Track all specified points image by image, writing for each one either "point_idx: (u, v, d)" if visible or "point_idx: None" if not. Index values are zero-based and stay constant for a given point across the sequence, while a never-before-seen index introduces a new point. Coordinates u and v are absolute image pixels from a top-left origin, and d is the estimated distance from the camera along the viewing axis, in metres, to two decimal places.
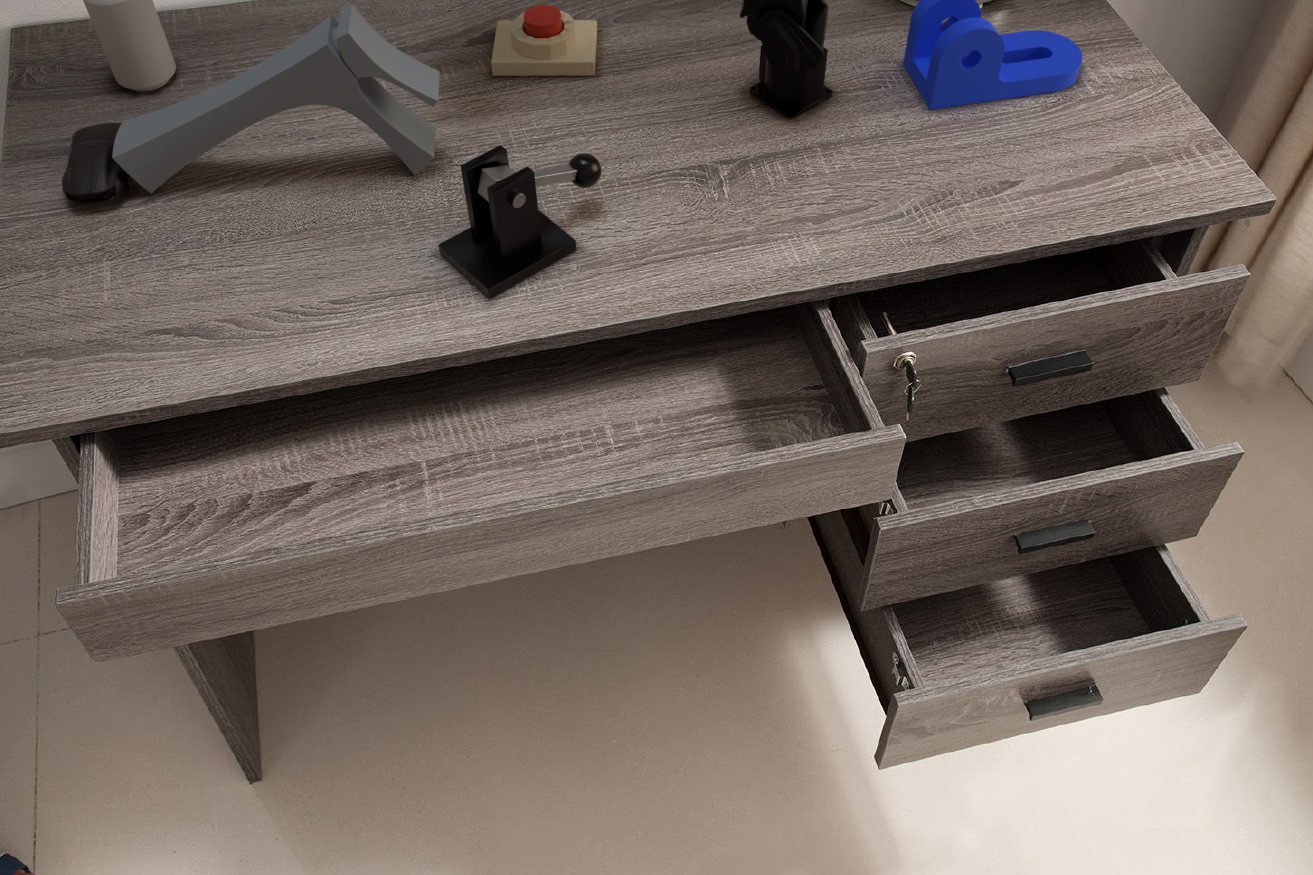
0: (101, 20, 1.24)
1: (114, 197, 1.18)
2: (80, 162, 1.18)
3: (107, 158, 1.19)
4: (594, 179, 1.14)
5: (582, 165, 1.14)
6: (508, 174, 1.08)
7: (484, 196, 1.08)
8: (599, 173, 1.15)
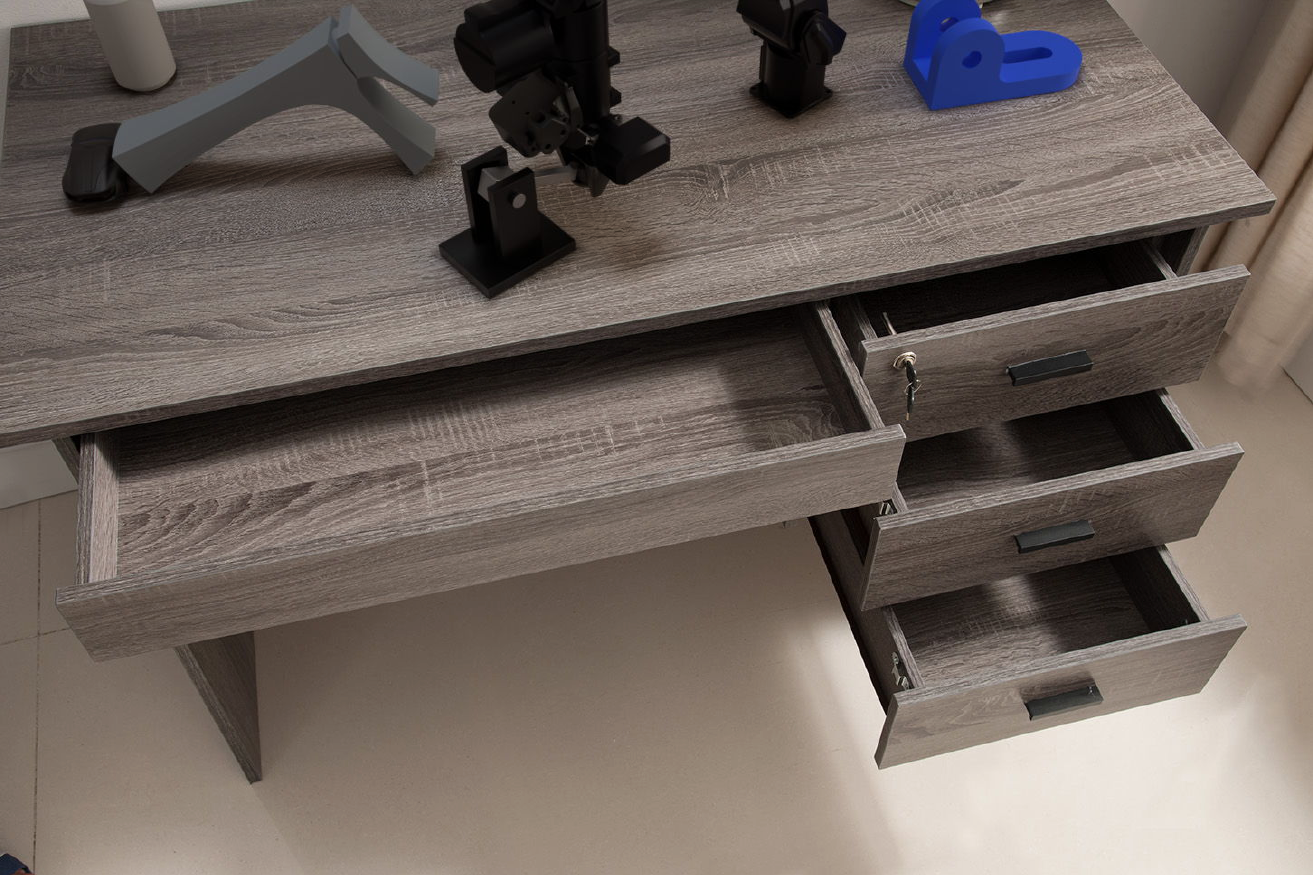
0: (101, 20, 1.24)
1: (114, 197, 1.18)
2: (80, 162, 1.18)
3: (107, 158, 1.19)
4: None
5: (582, 165, 1.14)
6: (508, 174, 1.08)
7: (484, 196, 1.08)
8: None
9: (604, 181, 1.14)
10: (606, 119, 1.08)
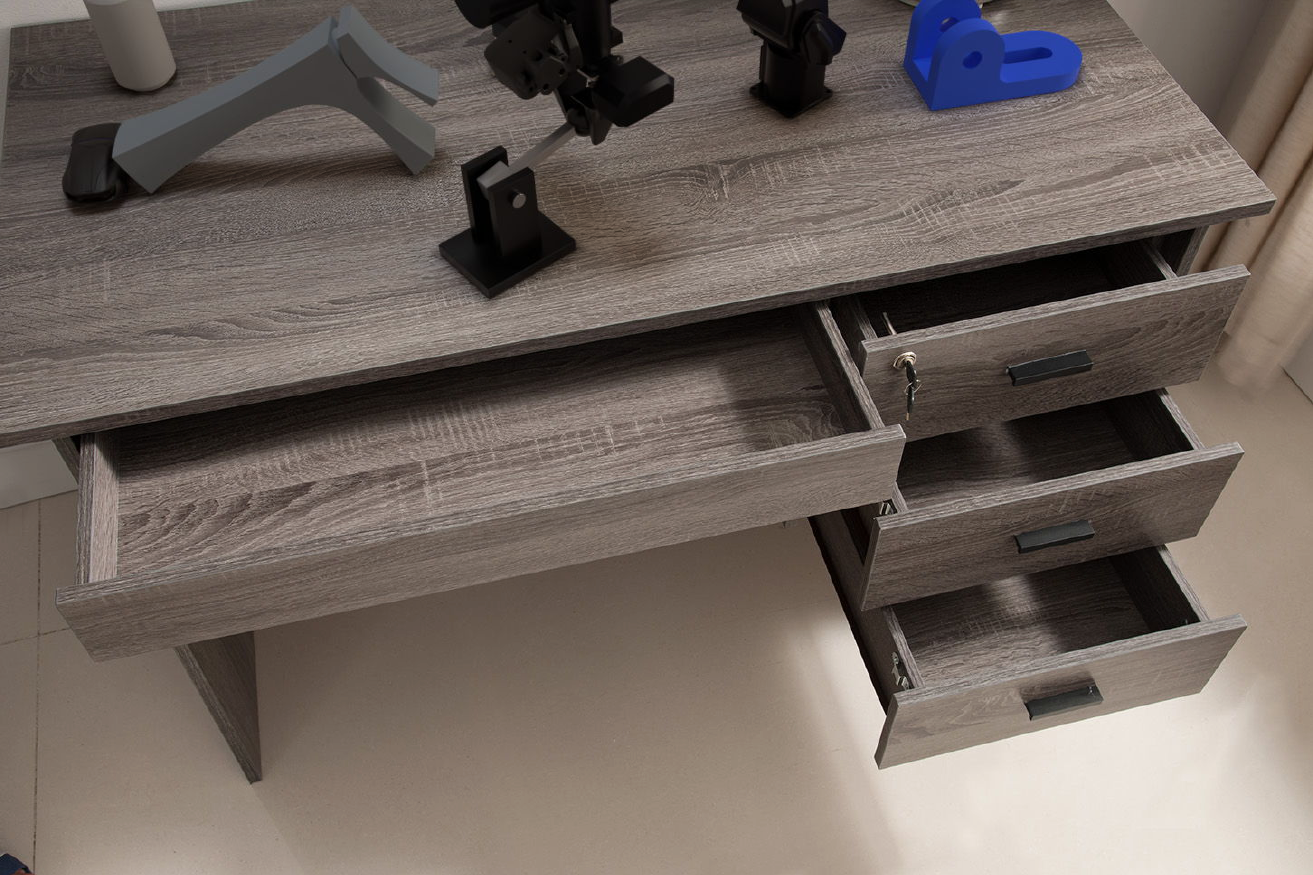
0: (101, 20, 1.24)
1: (114, 197, 1.18)
2: (80, 162, 1.18)
3: (107, 158, 1.19)
4: None
5: (576, 120, 1.10)
6: (501, 175, 1.08)
7: None
8: None
9: (605, 127, 1.10)
10: (607, 59, 1.03)
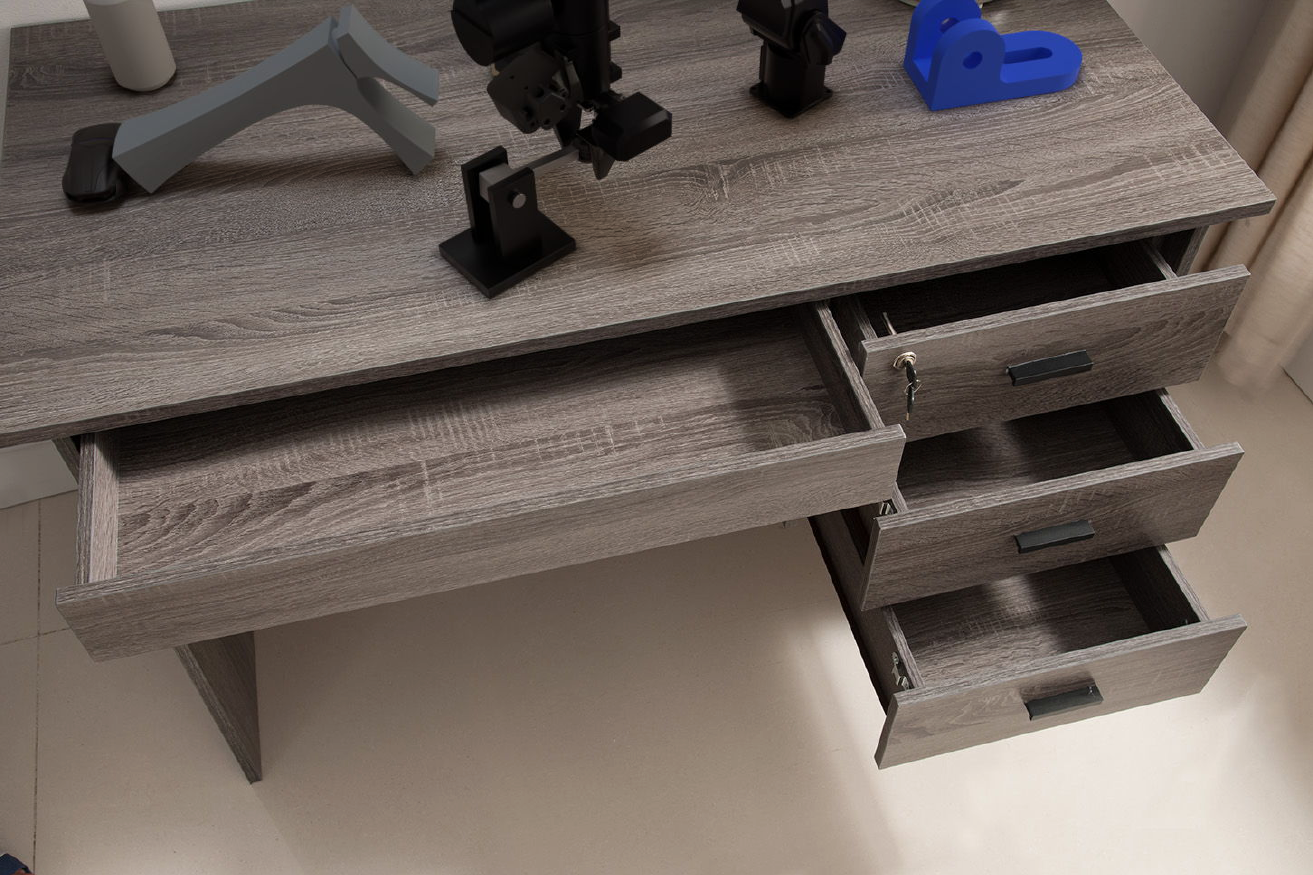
0: (101, 20, 1.24)
1: (114, 197, 1.18)
2: (80, 162, 1.18)
3: (107, 158, 1.19)
4: None
5: (583, 143, 1.12)
6: (505, 174, 1.08)
7: (486, 199, 1.09)
8: None
9: (609, 163, 1.12)
10: (606, 95, 1.06)
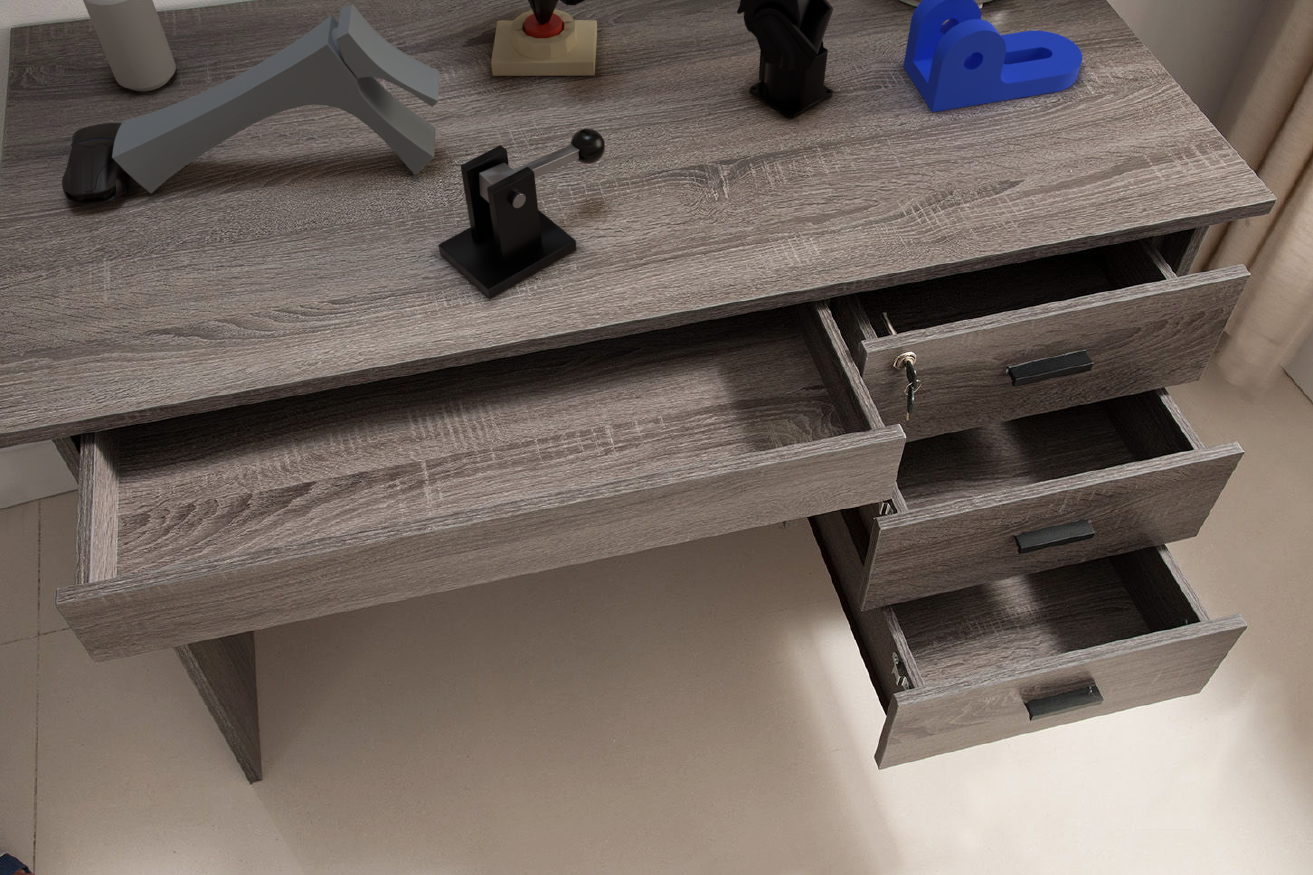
0: (101, 20, 1.24)
1: (114, 197, 1.18)
2: (80, 162, 1.18)
3: (107, 158, 1.19)
4: (598, 155, 1.13)
5: (583, 143, 1.12)
6: (505, 174, 1.08)
7: (486, 199, 1.09)
8: (602, 147, 1.13)
9: (550, 8, 1.30)
10: None
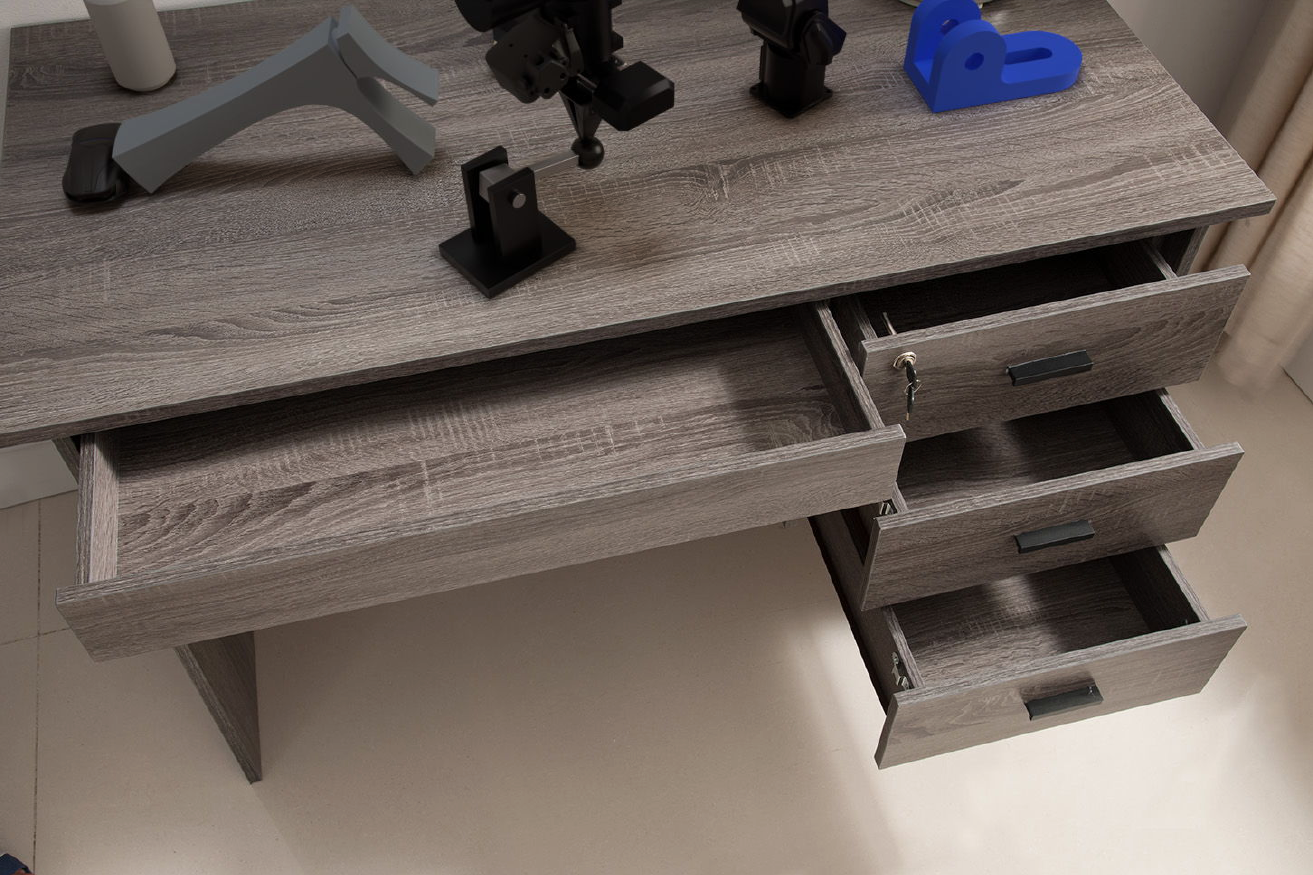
0: (101, 20, 1.24)
1: (114, 197, 1.18)
2: (80, 162, 1.18)
3: (107, 158, 1.19)
4: (597, 161, 1.13)
5: (583, 149, 1.12)
6: (506, 174, 1.08)
7: (485, 198, 1.09)
8: (602, 154, 1.13)
9: (594, 124, 1.11)
10: (607, 64, 1.04)
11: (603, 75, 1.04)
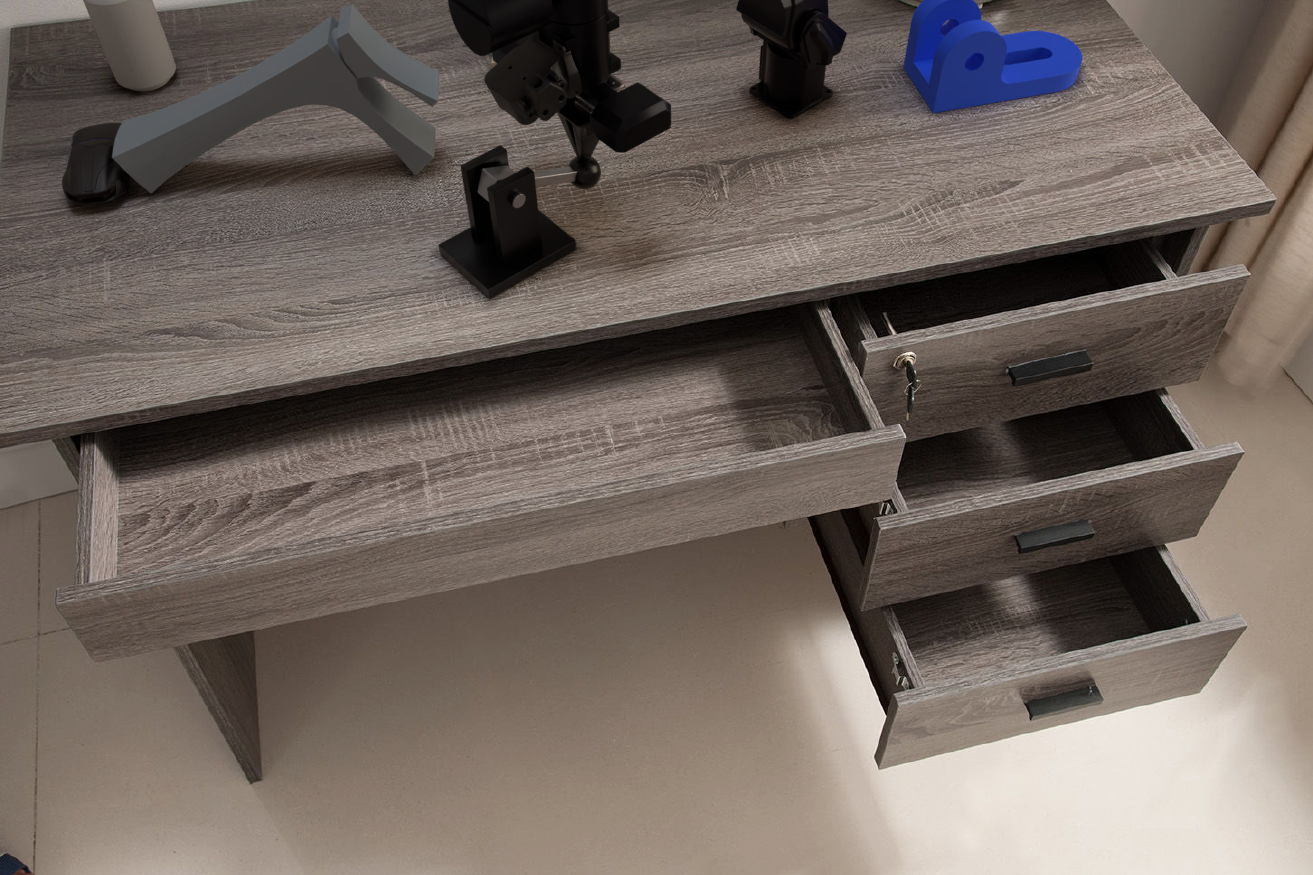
0: (101, 20, 1.24)
1: (114, 197, 1.18)
2: (80, 162, 1.18)
3: (107, 158, 1.19)
4: (594, 180, 1.15)
5: (582, 166, 1.14)
6: (508, 174, 1.08)
7: (484, 196, 1.08)
8: (599, 175, 1.15)
9: (592, 143, 1.12)
10: (605, 86, 1.05)
11: (601, 96, 1.05)
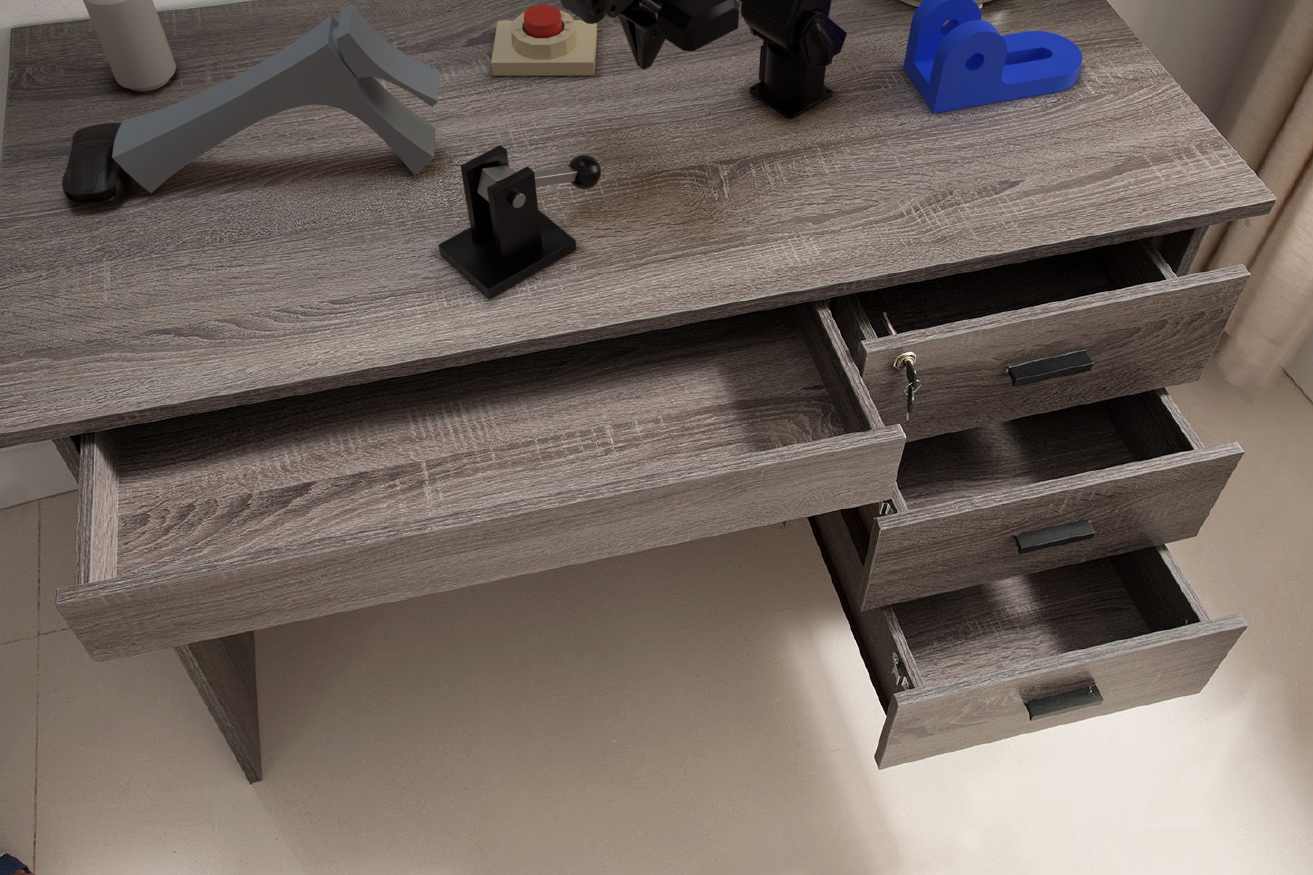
0: (101, 20, 1.24)
1: (114, 197, 1.18)
2: (80, 162, 1.18)
3: (107, 158, 1.19)
4: (594, 180, 1.15)
5: (582, 166, 1.14)
6: (508, 174, 1.08)
7: (484, 196, 1.08)
8: (599, 175, 1.15)
9: (654, 50, 1.10)
10: None
11: None
